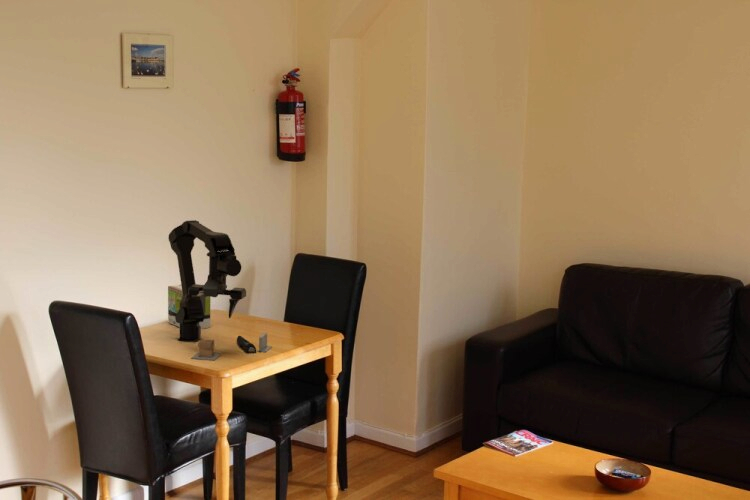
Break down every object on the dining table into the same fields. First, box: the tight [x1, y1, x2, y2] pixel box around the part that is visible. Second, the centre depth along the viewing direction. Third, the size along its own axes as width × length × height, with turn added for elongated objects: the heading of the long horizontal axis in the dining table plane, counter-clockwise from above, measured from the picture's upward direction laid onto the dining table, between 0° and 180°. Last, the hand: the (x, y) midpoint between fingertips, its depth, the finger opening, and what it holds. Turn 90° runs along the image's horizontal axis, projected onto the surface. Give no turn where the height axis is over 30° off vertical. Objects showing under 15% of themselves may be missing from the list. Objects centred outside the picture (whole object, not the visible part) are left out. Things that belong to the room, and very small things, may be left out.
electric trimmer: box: [236, 335, 257, 354], centre depth 320 cm, size 4×16×3 cm, turn 24°
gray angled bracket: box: [257, 332, 272, 353], centre depth 319 cm, size 3×7×5 cm, turn 172°
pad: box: [190, 351, 223, 361], centre depth 307 cm, size 8×8×1 cm
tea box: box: [167, 284, 211, 330], centre depth 349 cm, size 15×10×15 cm
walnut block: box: [198, 338, 215, 358], centre depth 307 cm, size 4×4×5 cm
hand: (216, 316), depth 314 cm, fingers open, 9 cm apart
